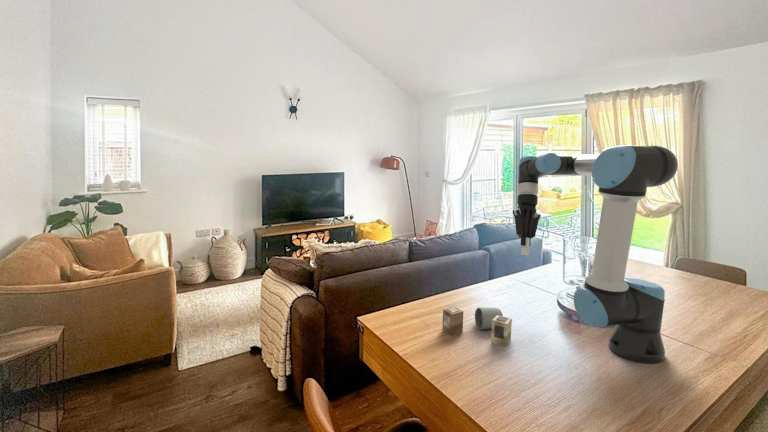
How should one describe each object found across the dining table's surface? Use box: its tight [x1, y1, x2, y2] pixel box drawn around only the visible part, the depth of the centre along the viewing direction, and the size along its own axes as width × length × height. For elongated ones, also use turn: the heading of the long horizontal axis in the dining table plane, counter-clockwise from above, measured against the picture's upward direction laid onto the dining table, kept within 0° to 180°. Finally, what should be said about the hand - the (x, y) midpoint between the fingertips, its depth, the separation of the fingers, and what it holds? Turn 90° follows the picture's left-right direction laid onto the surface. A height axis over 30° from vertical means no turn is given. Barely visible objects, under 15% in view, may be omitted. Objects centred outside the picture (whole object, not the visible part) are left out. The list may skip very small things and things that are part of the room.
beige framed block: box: [490, 315, 513, 347], centre depth 132 cm, size 5×5×8 cm
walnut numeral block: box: [441, 306, 464, 337], centre depth 140 cm, size 5×5×8 cm
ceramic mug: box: [474, 306, 504, 330], centre depth 145 cm, size 11×8×8 cm
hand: (525, 254), depth 154 cm, fingers closed
